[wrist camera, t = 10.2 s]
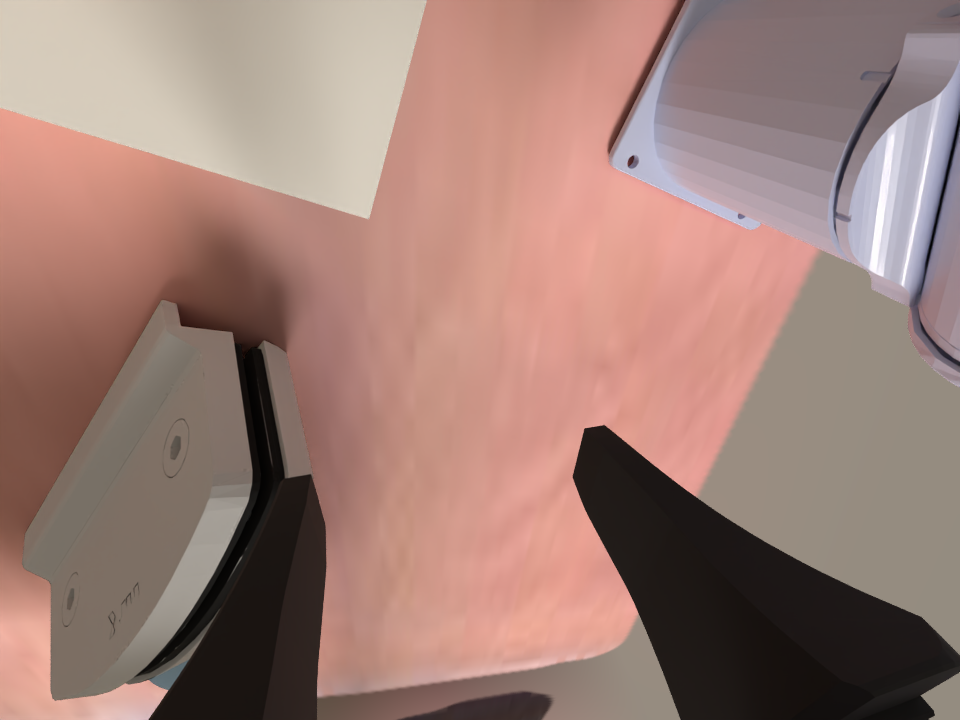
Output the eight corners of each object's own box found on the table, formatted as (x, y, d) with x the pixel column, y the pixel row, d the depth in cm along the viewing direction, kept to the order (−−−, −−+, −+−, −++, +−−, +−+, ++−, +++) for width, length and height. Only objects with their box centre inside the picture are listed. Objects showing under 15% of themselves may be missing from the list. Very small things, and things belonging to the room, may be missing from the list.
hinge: (166, 291, 17) (199, 518, 12) (280, 324, 21) (347, 509, 15) (21, 538, 22) (-2, 777, 17) (134, 530, 26) (145, 723, 20)
